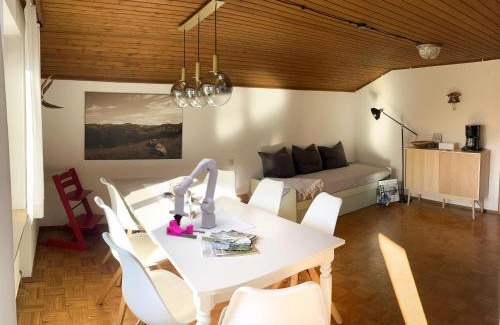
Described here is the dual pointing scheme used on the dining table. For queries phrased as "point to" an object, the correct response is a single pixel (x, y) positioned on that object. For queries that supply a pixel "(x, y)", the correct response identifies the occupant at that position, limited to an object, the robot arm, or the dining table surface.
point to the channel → (191, 235)
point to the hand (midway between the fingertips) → (178, 226)
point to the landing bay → (212, 237)
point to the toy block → (178, 229)
